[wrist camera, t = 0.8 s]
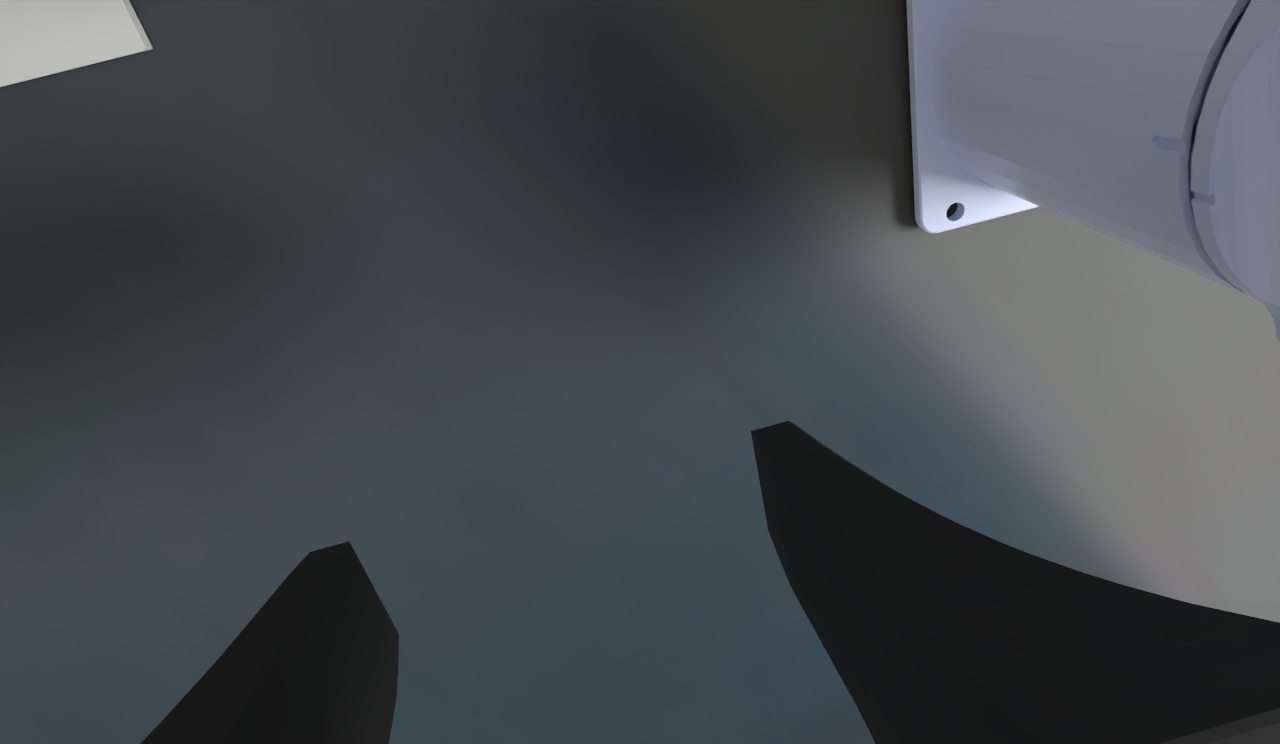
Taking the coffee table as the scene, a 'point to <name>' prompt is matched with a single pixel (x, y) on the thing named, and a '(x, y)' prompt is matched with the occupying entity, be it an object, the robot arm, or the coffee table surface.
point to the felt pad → (64, 36)
